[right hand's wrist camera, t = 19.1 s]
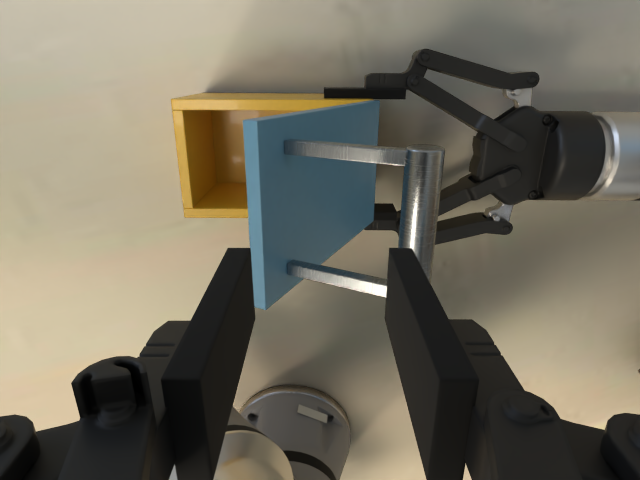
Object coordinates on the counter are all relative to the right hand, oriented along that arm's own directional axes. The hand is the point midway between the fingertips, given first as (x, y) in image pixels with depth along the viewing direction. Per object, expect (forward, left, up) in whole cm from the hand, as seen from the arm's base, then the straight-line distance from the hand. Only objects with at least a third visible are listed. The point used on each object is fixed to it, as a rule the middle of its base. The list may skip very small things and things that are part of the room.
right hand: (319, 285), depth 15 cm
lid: (0, 0, -14) cm, 14 cm away
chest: (-3, +3, -31) cm, 32 cm away
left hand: (0, 0, -25) cm, 25 cm away
